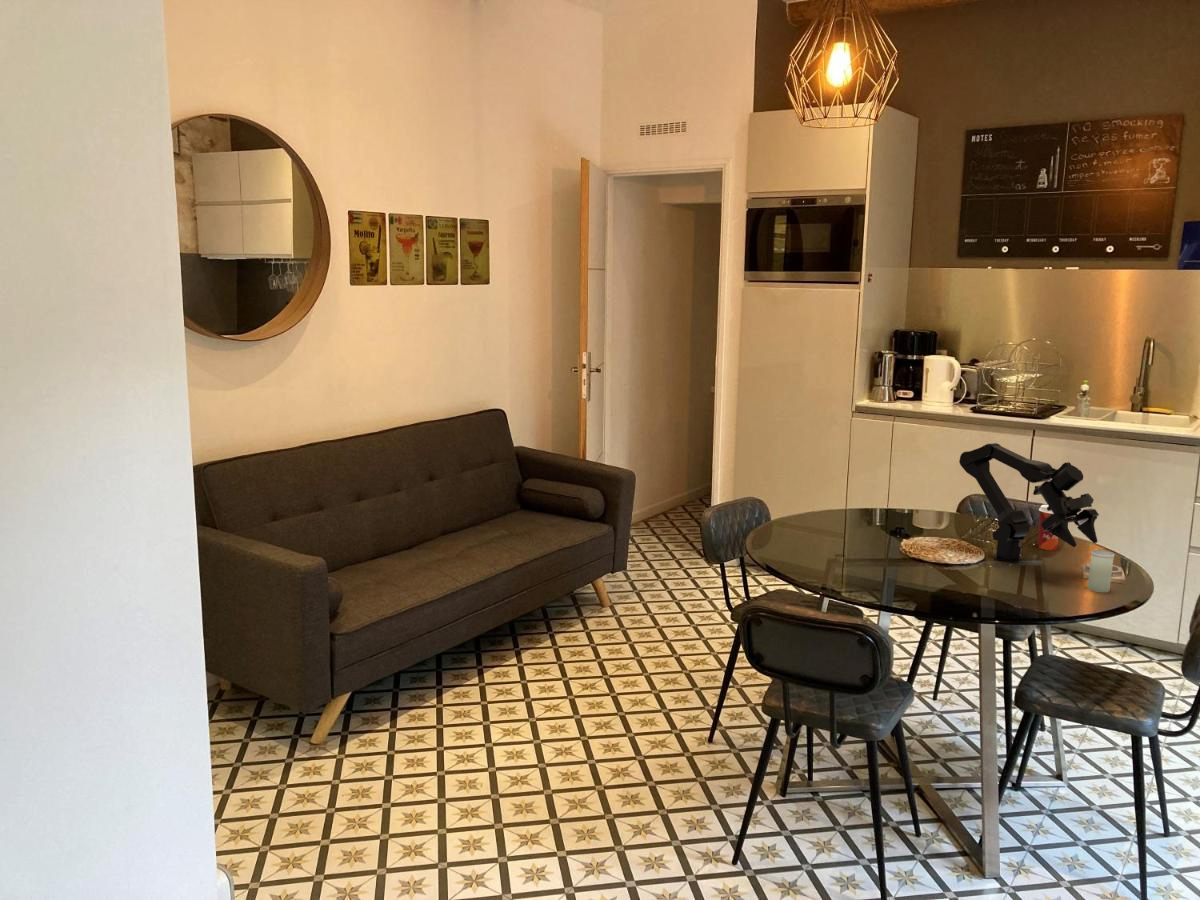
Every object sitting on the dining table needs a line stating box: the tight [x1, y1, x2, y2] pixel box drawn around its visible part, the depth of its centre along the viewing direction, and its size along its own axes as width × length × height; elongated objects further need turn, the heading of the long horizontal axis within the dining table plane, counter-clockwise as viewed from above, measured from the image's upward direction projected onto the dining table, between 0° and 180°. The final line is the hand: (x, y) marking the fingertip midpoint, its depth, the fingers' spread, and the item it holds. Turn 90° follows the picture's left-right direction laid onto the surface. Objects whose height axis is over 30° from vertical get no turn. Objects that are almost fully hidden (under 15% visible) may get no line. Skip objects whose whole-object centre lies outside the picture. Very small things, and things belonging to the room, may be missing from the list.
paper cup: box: [1037, 504, 1060, 551], centre depth 311 cm, size 8×8×14 cm
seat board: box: [1081, 562, 1127, 585], centre depth 284 cm, size 11×11×3 cm
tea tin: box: [1087, 549, 1115, 594], centre depth 270 cm, size 6×6×11 cm
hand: (1085, 544), depth 274 cm, fingers open, 9 cm apart
